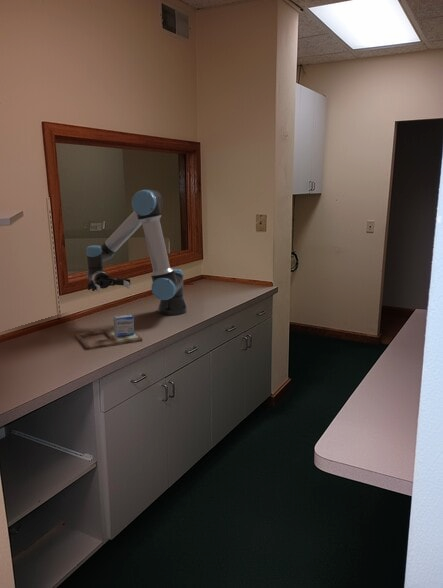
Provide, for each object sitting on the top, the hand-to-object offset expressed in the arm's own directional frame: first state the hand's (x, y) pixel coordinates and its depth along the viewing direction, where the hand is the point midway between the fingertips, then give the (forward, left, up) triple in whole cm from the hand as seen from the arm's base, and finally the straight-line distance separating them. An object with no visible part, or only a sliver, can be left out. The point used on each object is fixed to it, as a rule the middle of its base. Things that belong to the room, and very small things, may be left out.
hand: (114, 287), depth 212 cm
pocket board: (+6, +8, -21) cm, 23 cm away
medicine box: (-1, +10, -20) cm, 22 cm away
